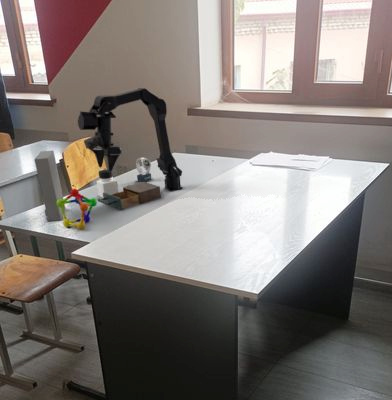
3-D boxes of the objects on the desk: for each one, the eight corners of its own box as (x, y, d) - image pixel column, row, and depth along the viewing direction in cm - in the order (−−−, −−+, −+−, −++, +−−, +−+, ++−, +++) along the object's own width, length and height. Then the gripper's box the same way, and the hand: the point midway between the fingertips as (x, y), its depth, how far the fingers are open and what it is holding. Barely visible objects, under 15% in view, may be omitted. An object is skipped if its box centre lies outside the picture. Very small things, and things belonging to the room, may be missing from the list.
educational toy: (104, 222, 207) (101, 186, 198) (87, 234, 197) (83, 196, 188) (71, 216, 211) (67, 180, 203) (53, 227, 201) (48, 190, 193)
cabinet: (144, 192, 236) (143, 181, 233) (160, 197, 228) (159, 186, 225) (124, 198, 230) (122, 187, 227) (140, 203, 222) (139, 192, 219)
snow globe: (146, 183, 249) (144, 160, 243) (135, 181, 254) (132, 158, 248) (154, 180, 253) (152, 157, 247) (142, 178, 257) (140, 155, 251)
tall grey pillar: (51, 210, 221) (38, 151, 208) (65, 209, 221) (53, 150, 208) (46, 221, 209) (32, 159, 196) (61, 220, 209) (47, 158, 196)
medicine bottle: (119, 196, 233) (115, 169, 227) (105, 199, 230) (101, 172, 224) (112, 192, 239) (108, 166, 232) (98, 196, 235) (94, 169, 229)
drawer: (125, 197, 231) (124, 186, 228) (142, 202, 222) (141, 192, 219) (95, 205, 222) (94, 195, 220) (112, 212, 213) (110, 201, 211)
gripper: (76, 127, 209) (78, 166, 217) (96, 132, 196) (97, 174, 203) (100, 127, 215) (101, 165, 223) (121, 132, 202) (122, 172, 210)
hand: (105, 169), depth 214 cm, fingers open, 9 cm apart
